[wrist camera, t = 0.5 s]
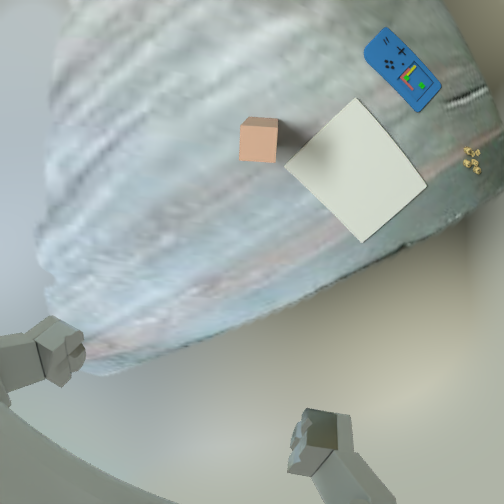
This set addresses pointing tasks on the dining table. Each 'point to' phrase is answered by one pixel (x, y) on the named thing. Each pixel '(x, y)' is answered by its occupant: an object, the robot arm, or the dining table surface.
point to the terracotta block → (258, 139)
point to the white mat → (357, 171)
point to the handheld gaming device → (401, 69)
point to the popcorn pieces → (473, 161)
